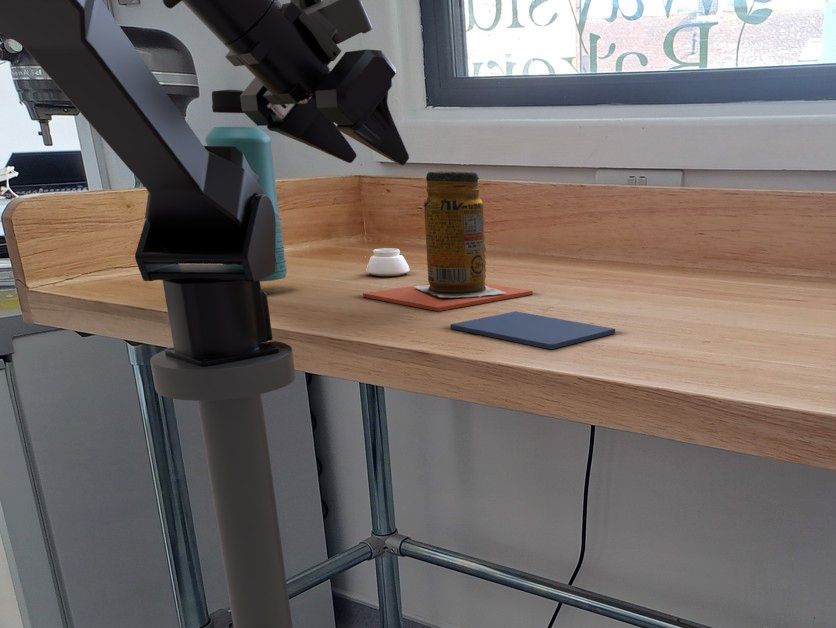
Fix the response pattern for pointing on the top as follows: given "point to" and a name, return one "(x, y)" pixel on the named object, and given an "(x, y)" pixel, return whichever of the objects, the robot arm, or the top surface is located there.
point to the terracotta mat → (432, 302)
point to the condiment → (455, 236)
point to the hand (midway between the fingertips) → (378, 160)
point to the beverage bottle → (250, 160)
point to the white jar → (387, 263)
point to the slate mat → (533, 329)
